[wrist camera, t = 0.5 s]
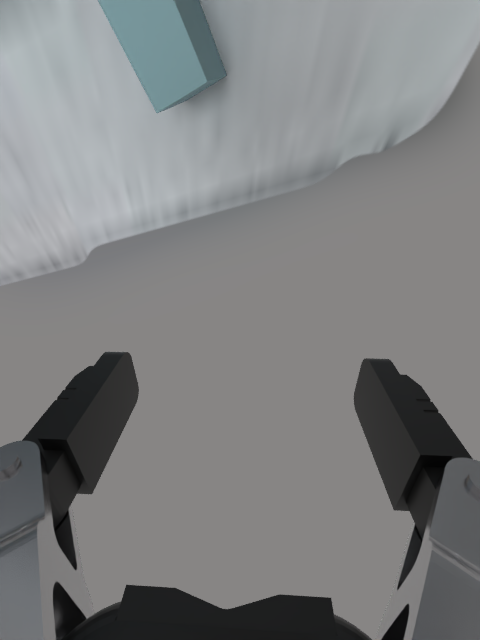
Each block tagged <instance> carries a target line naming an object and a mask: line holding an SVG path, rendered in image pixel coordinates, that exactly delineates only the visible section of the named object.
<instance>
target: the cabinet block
mask: <svg viewBox="0 0 480 640" xmlns="http://www.w3.org/2000/svg"><path fill="white" fill-rule="evenodd" d="M98 2H99V4H100V6H101V7H102V9H103V11H104V13H105V15H106V17H107V19H108V21H109V23H110V25H111V27H112V29H113V30H114V32H115V34H116V36H117V38H118V40H119V42H120V44H121V46H122V48H123V50H124V52H125V53H126V55H127V57H128V59H129V61H130V63H131V65H132V67H133V69H134V71H135V73H136V75H137V76H138V78H139V80H140V82H141V84H142V86H143V88H144V90H145V92H146V94H147V96H148V98H149V99H150V101H151V103H152V105H153V107H154V109H155V111H156V113H159V112H161V111H164V110H166V109H168V108H170V107H173V106H175V105H177V104H180V103H182V102H184V101H186V100H188V99H190V98H191V97H193V96H194V95H196V94H198V93H199V92H201V91H202V90H204V89H206V88H207V87H209V86H211V85H212V84H214V83H215V82H217V81H219V80H220V79H222V78H224V77H225V76H227V75H226V72H225V69H224V66H223V64H222V61H221V58H220V56H219V53H218V50H217V48H216V45H215V42H214V40H213V37H212V34H211V31H210V29H209V26H208V23H207V21H206V18H205V15H204V13H203V10H202V7H201V5H200V2H199V0H98Z"/></svg>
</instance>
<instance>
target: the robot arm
mask: <svg viewBox="0 0 480 640" xmlns="http://www.w3.org/2000/svg"><path fill="white" fill-rule="evenodd" d="M138 392H139V389H138V382H137V378H136V374H135V370H134V366H133V362H132V358H131V355H130V354H129V353H128V352H105V353H104V354H103V355H102V356H101V357H100V359H99V360H98V361H97V362H96V364H95V365H94V366H89V367H87V368H86V369H84V370H83V371H81V372H80V373H79V374H77V375H76V376H75V377H74V378H73V379H72V380H71V382H70V383H69V384H68V385H67V386H66V389H65V390H63V391H62V393H61V394H60V395H59V396H58V398H57V400H55V401H54V402H53V403H52V405H51V406H50V407H49V408H48V410H47V411H46V412H45V413H44V414H43V416H42V417H41V418H40V419H39V421H38V422H37V423H36V424H35V425H34V427H33V428H32V429H31V430H30V431H29V433H28V434H27V435H26V436H25V438H24V439H23V440H22V441H16V442H13V443H9V444H7V445H4V446H2V447H0V640H372V639H371V638H369V636H367V635H366V634H365V633H363V632H362V631H360V629H358V628H357V627H356V626H354V625H353V624H351V623H349V622H347V621H346V620H344V619H343V618H341V617H338V616H336V615H334V613H333V607H332V601H331V598H324V597H309V596H293V595H276V596H273V597H270V598H266V599H263V600H259V601H256V602H253V603H249V604H246V605H243V606H239V607H236V608H232V609H222V608H219V607H217V606H214V605H212V604H210V603H208V602H205V601H203V600H201V599H199V598H197V597H194V596H192V595H190V594H188V593H185V592H183V591H181V590H179V589H176V588H167V587H151V586H135V585H126V588H125V591H124V594H123V598H122V601H121V602H118V603H115V604H113V605H111V606H109V607H106V608H104V609H102V610H100V611H99V612H97V613H94V609H93V604H92V601H91V597H90V594H89V591H88V588H87V586H86V583H85V579H84V575H83V571H82V564H81V558H80V553H79V546H78V540H77V534H76V528H75V523H74V516H73V511H72V507H71V503H72V501H73V499H74V498H75V496H76V494H78V493H79V494H92V493H93V491H94V489H95V487H96V485H97V482H98V481H99V479H100V477H101V474H102V472H103V470H104V468H105V466H106V464H107V462H108V460H109V458H110V456H111V454H112V452H113V450H114V448H115V446H116V443H117V442H118V439H119V437H120V435H121V433H122V431H123V429H124V427H125V425H126V423H127V421H128V419H129V417H130V415H131V413H132V411H133V408H134V407H135V404H136V402H137V399H138ZM354 405H355V410H356V413H357V415H358V418H359V420H360V423H361V426H362V428H363V431H364V434H365V436H366V439H367V441H368V444H369V447H370V449H371V452H372V454H373V457H374V460H375V462H376V465H377V467H378V470H379V472H380V475H381V478H382V480H383V483H384V485H385V488H386V490H387V493H388V496H389V498H390V501H391V504H392V506H393V509H394V510H401V511H410V513H411V515H412V518H413V520H414V523H413V525H412V528H411V531H410V534H409V538H408V541H407V544H406V548H405V551H404V555H403V558H402V561H401V565H400V568H399V572H398V575H397V578H396V582H395V585H394V589H393V592H392V595H391V598H390V601H389V603H388V605H387V608H386V610H385V613H384V615H383V617H382V621H381V623H380V626H379V629H378V632H377V635H376V638H375V640H480V461H477V460H473V459H472V458H471V456H470V455H469V453H468V452H467V450H466V449H465V448H464V446H463V445H462V443H461V442H460V440H459V439H458V438H457V436H456V435H455V433H454V432H453V431H452V429H451V428H450V426H449V425H448V424H447V422H446V421H445V419H444V418H443V416H442V415H441V414H440V413H438V409H437V408H436V407H435V405H434V404H433V402H430V398H429V397H428V395H427V394H426V393H425V391H424V390H423V388H422V387H421V386H420V385H419V384H418V383H416V382H415V381H414V380H412V379H411V378H410V377H409V376H407V375H400V374H399V372H398V371H397V369H396V368H395V366H394V365H393V363H392V362H391V361H390V360H389V359H364V360H363V362H362V365H361V368H360V372H359V377H358V381H357V384H356V388H355V392H354Z"/></svg>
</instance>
